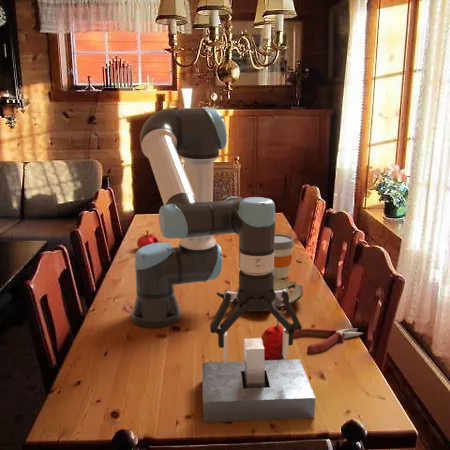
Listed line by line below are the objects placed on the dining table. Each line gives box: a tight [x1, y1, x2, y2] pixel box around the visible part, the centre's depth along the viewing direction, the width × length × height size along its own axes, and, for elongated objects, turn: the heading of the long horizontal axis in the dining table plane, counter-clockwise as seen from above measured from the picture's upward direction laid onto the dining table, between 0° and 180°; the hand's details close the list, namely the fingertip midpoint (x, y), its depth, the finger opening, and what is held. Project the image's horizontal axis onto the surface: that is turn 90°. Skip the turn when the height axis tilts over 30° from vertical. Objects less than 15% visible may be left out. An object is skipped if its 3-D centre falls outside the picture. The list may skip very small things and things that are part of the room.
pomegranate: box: [136, 230, 160, 250], centre depth 223 cm, size 10×10×9 cm
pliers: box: [293, 327, 364, 354], centre depth 141 cm, size 12×20×3 cm, turn 110°
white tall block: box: [243, 337, 265, 388], centre depth 112 cm, size 5×4×14 cm
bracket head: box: [201, 358, 316, 424], centre depth 113 cm, size 16×24×5 cm, turn 93°
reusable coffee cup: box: [273, 233, 295, 280], centre depth 190 cm, size 13×13×15 cm
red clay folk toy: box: [260, 307, 287, 361], centre depth 130 cm, size 8×7×15 cm
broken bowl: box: [216, 279, 304, 311], centre depth 165 cm, size 22×30×8 cm
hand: (255, 358), depth 111 cm, fingers open, 13 cm apart
